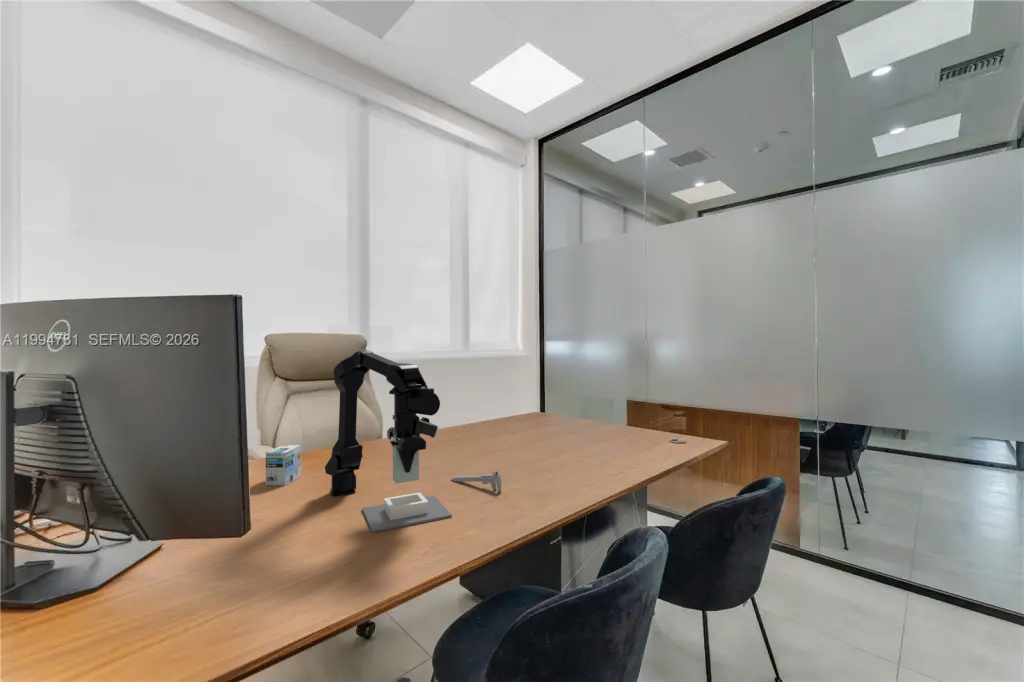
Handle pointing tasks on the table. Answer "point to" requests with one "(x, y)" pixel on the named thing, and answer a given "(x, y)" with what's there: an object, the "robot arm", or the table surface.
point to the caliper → (482, 480)
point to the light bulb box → (283, 465)
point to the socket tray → (404, 512)
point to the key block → (398, 468)
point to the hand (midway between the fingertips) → (405, 470)
